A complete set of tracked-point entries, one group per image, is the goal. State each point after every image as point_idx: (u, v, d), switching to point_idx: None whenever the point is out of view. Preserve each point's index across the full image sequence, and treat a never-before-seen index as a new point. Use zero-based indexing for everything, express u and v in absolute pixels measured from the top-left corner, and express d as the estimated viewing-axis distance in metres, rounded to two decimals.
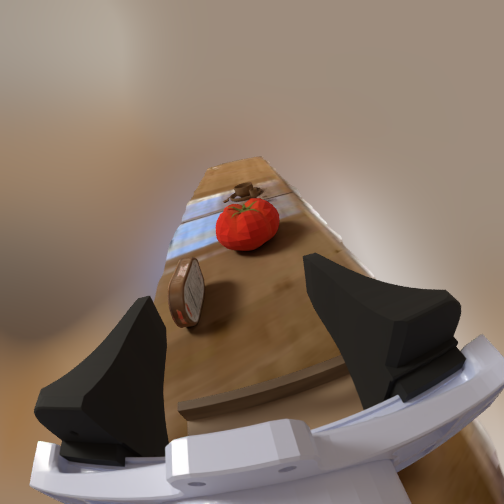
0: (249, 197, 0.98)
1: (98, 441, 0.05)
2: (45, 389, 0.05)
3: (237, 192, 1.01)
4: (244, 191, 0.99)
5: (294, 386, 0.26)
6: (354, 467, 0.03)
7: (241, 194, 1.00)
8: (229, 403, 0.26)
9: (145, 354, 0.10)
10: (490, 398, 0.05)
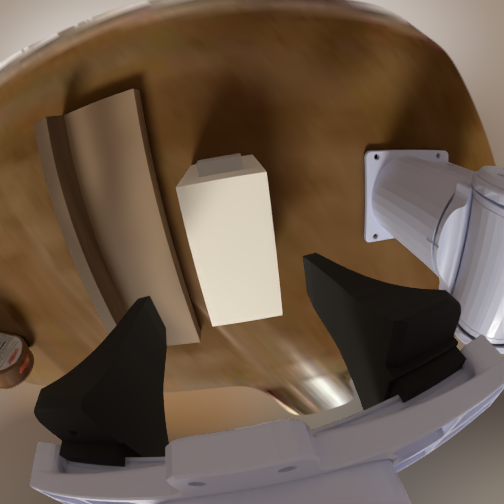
0: None
1: (98, 441, 0.05)
2: (45, 389, 0.05)
3: None
4: None
5: (84, 236, 0.17)
6: (354, 467, 0.03)
7: None
8: (115, 315, 0.20)
9: (145, 354, 0.10)
10: (490, 398, 0.05)
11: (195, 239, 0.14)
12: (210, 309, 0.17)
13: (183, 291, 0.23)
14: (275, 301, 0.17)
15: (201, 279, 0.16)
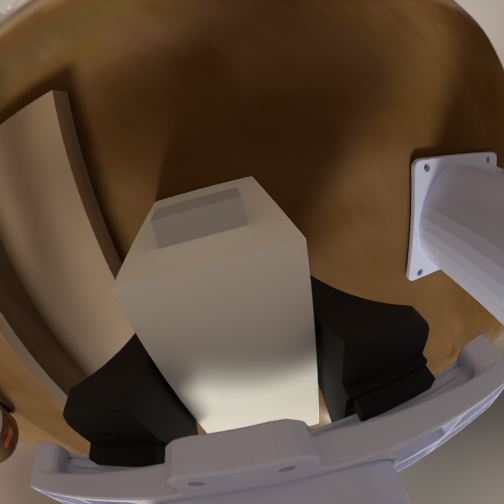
0: None
1: (135, 441, 0.05)
2: (75, 388, 0.05)
3: None
4: None
5: (22, 323, 0.10)
6: (354, 467, 0.03)
7: None
8: None
9: None
10: (490, 398, 0.05)
11: (172, 368, 0.07)
12: None
13: None
14: (310, 414, 0.10)
15: (193, 410, 0.08)
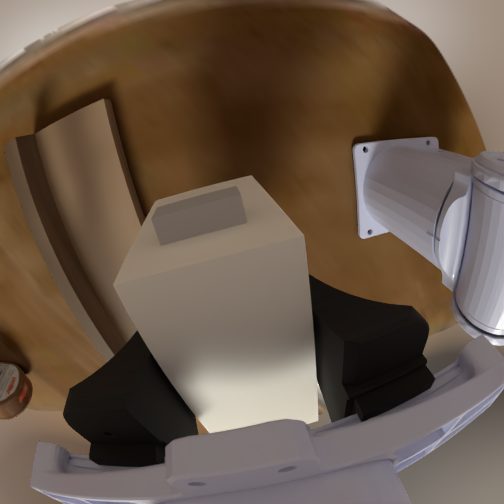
0: None
1: (135, 441, 0.05)
2: (75, 388, 0.05)
3: None
4: None
5: (66, 260, 0.16)
6: (354, 467, 0.03)
7: None
8: (108, 338, 0.19)
9: None
10: (490, 398, 0.05)
11: (173, 364, 0.07)
12: (213, 432, 0.09)
13: None
14: (309, 411, 0.10)
15: (193, 407, 0.08)
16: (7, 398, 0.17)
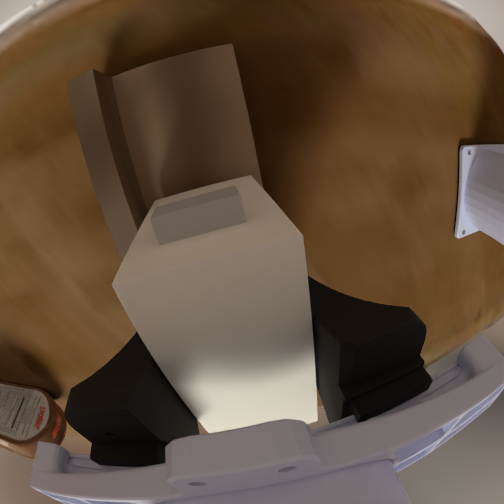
0: None
1: (136, 441, 0.05)
2: (76, 388, 0.05)
3: None
4: None
5: None
6: (354, 467, 0.03)
7: None
8: None
9: None
10: (490, 398, 0.05)
11: (171, 364, 0.07)
12: (212, 432, 0.09)
13: None
14: (308, 412, 0.10)
15: (192, 407, 0.08)
16: (37, 435, 0.14)
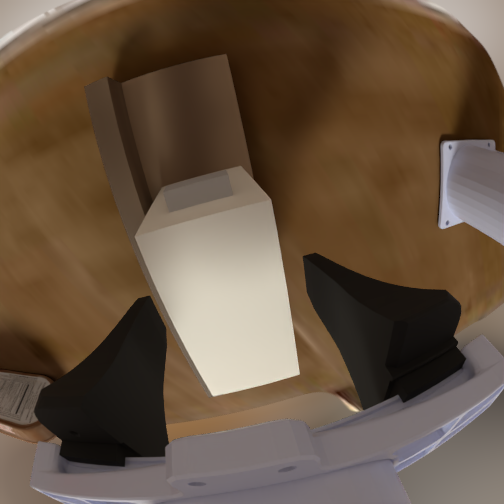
0: None
1: (98, 441, 0.05)
2: (45, 389, 0.05)
3: None
4: None
5: None
6: (354, 467, 0.03)
7: None
8: None
9: (145, 354, 0.10)
10: (490, 398, 0.05)
11: (175, 305, 0.10)
12: (207, 380, 0.12)
13: None
14: (290, 362, 0.12)
15: (190, 351, 0.11)
16: None
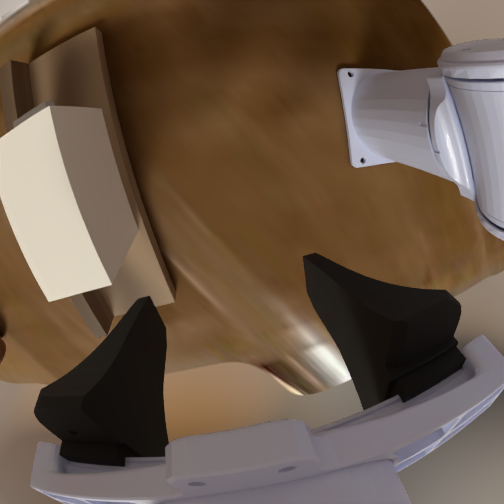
0: None
1: (98, 441, 0.05)
2: (45, 389, 0.05)
3: None
4: None
5: None
6: (354, 467, 0.03)
7: None
8: None
9: (145, 354, 0.10)
10: (490, 398, 0.05)
11: (6, 198, 0.09)
12: (38, 280, 0.11)
13: (149, 236, 0.19)
14: (96, 266, 0.12)
15: (20, 243, 0.10)
16: None
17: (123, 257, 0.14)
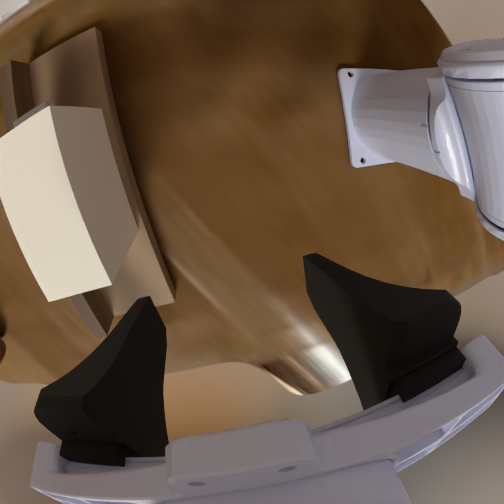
0: None
1: (98, 441, 0.05)
2: (45, 389, 0.05)
3: None
4: None
5: None
6: (354, 467, 0.03)
7: None
8: None
9: (145, 354, 0.10)
10: (490, 398, 0.05)
11: (6, 198, 0.09)
12: (38, 280, 0.11)
13: (149, 236, 0.19)
14: (96, 266, 0.12)
15: (20, 243, 0.10)
16: None
17: (123, 257, 0.14)
